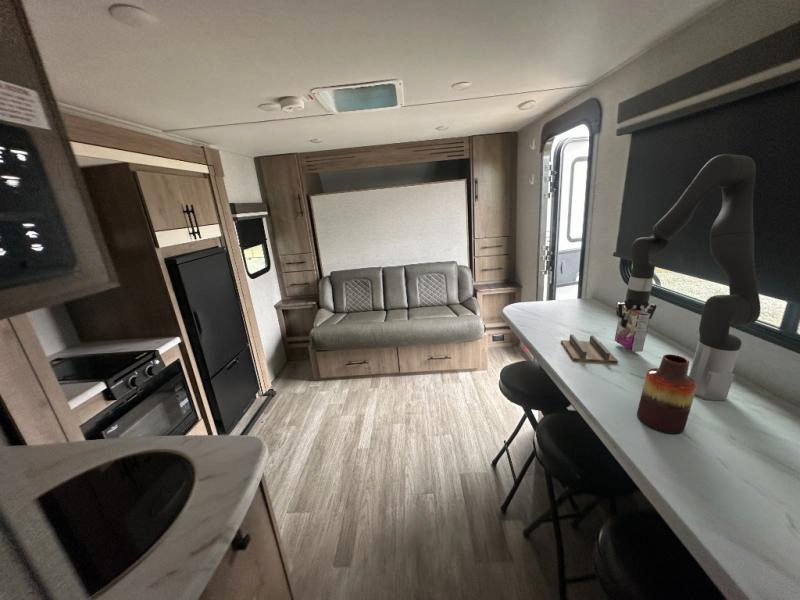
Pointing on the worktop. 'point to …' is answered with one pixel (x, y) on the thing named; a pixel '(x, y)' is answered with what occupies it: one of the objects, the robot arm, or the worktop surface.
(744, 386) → the worktop surface
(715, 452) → the worktop surface
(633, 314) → the candy bar box
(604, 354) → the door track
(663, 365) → the vase
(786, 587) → the worktop surface
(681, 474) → the worktop surface
